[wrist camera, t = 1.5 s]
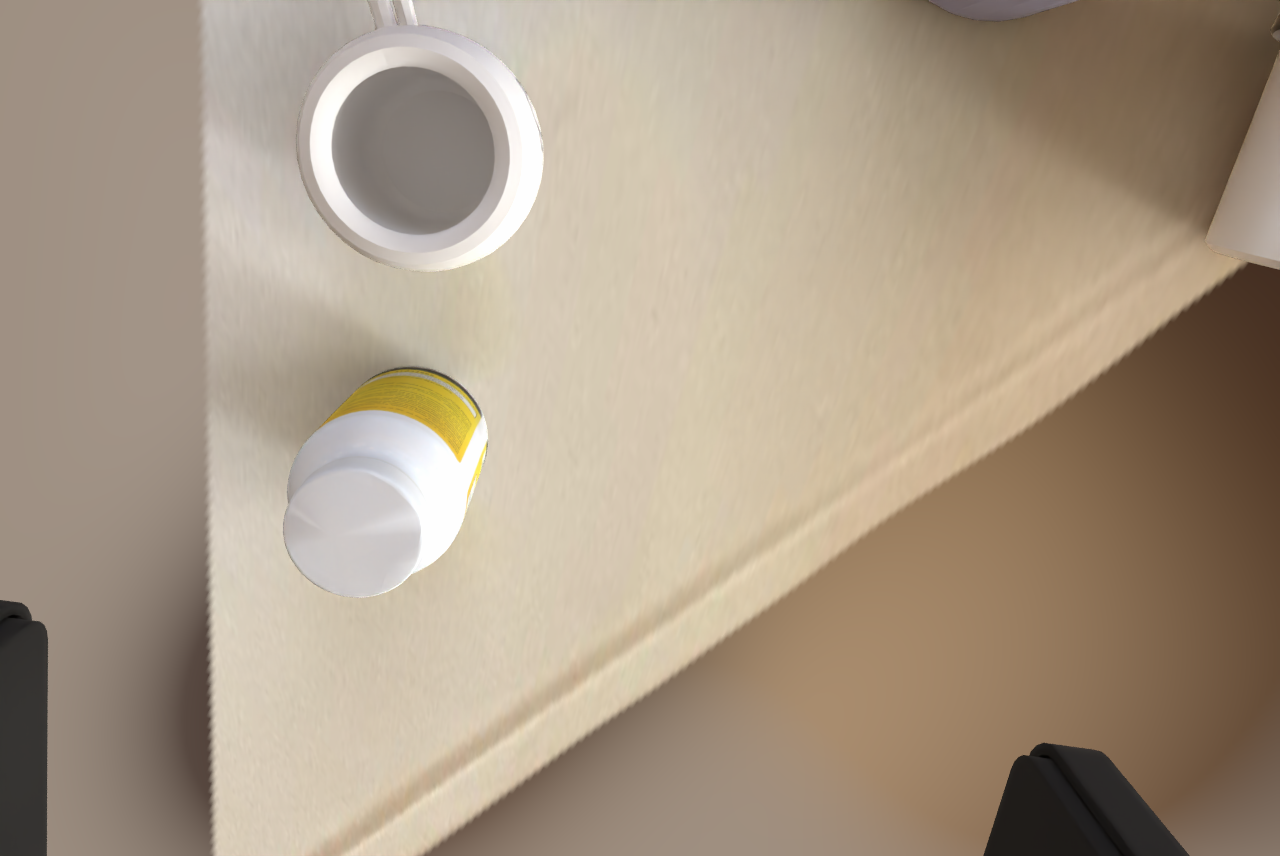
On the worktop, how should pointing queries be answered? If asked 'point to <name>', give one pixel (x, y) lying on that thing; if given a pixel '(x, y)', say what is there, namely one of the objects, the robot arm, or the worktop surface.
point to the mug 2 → (1254, 185)
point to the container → (997, 8)
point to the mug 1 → (418, 145)
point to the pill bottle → (384, 482)
